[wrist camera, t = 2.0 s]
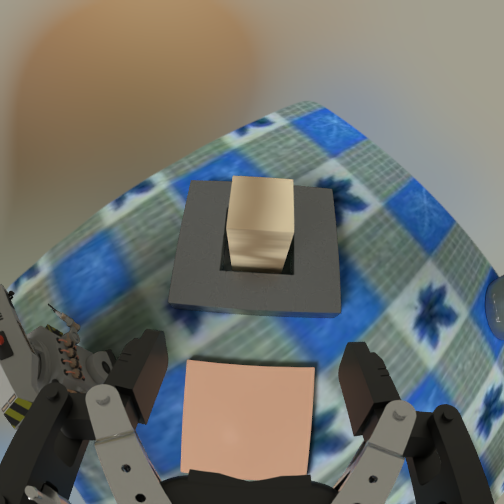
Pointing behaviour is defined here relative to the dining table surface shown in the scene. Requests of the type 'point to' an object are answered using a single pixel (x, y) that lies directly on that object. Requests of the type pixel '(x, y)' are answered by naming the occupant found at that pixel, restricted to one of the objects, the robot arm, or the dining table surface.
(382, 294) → the dining table surface
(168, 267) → the dining table surface
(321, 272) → the socket block
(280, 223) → the beech peg
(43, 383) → the figurine
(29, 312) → the dining table surface
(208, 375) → the terracotta tile
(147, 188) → the dining table surface
